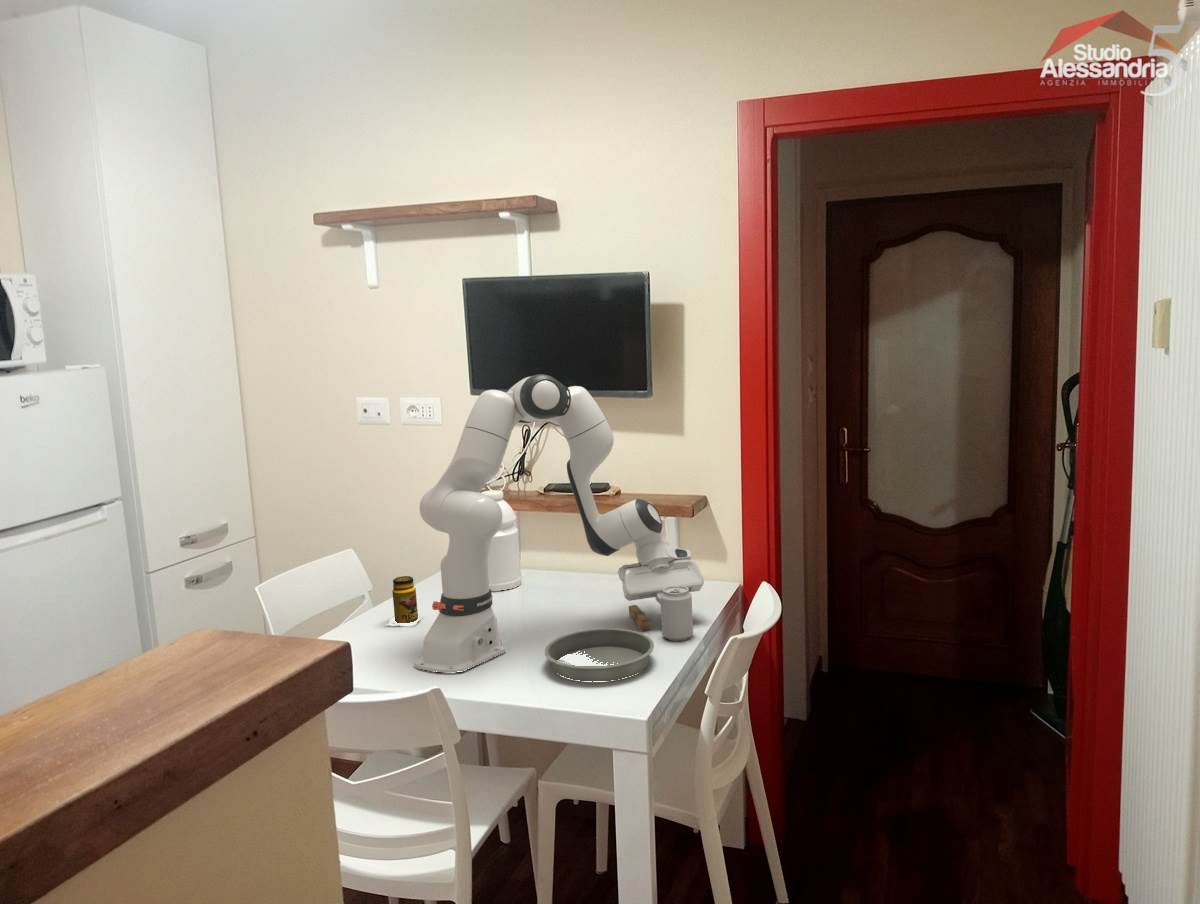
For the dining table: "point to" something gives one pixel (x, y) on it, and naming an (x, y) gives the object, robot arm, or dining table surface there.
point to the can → (676, 613)
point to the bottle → (504, 549)
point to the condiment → (404, 600)
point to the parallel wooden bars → (639, 618)
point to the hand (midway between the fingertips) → (670, 609)
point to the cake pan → (601, 653)
